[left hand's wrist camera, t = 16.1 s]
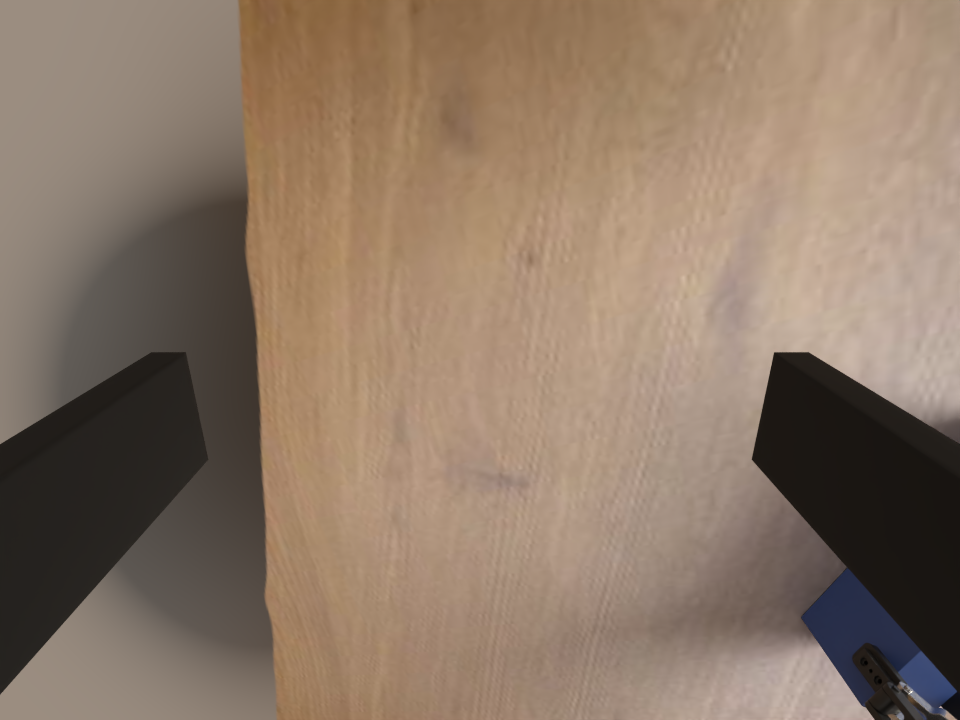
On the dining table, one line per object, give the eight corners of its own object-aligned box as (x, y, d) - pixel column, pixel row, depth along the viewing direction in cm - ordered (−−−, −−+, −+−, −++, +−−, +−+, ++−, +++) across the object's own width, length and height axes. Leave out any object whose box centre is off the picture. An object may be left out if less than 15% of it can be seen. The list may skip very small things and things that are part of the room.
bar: (991, 412, 44) (1110, 473, 36) (1043, 440, 45) (1170, 506, 36) (800, 617, 52) (861, 706, 43) (847, 637, 53) (916, 727, 44)
